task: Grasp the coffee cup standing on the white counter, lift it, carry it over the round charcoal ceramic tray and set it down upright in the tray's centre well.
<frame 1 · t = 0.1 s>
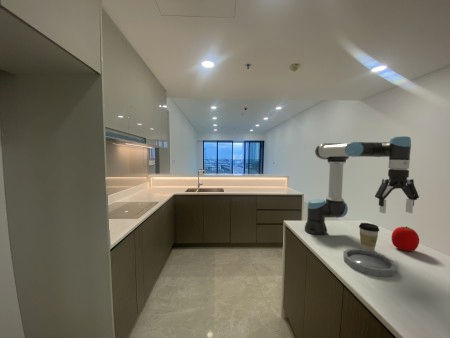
hand: (395, 212, 96), 28 cm above the worktop, fingers open, 13 cm apart
tray: (367, 264, 102), on the worktop
coffee cup: (367, 250, 117), on the worktop
tomato: (404, 249, 119), on the worktop
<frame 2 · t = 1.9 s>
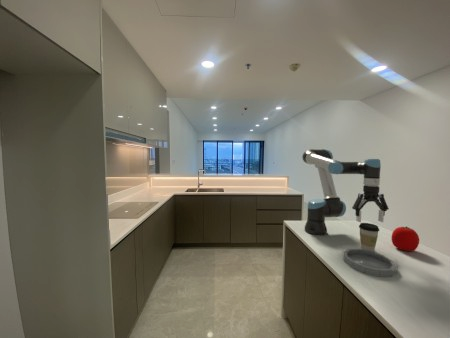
hand: (369, 221, 116), 17 cm above the worktop, fingers open, 13 cm apart
nothing on the worktop moved.
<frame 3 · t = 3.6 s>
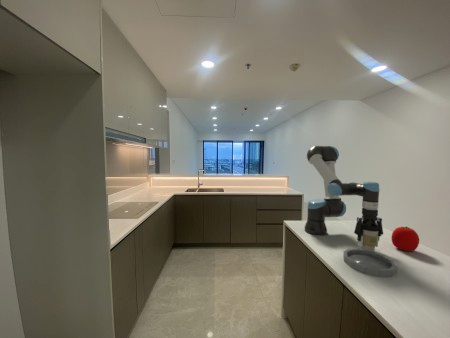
hand: (367, 246, 117), 2 cm above the worktop, fingers closed on coffee cup, 9 cm apart
coffee cup: (367, 250, 117), on the worktop, touching gripper
everything else where it was.
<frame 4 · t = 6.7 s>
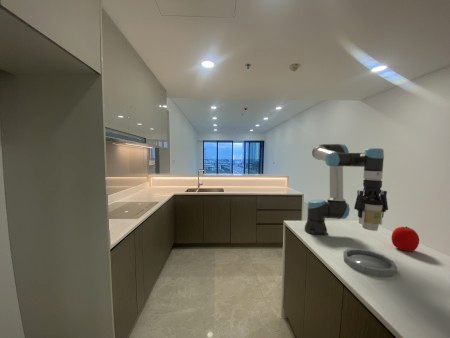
hand: (370, 223, 100), 21 cm above the worktop, fingers closed on coffee cup, 9 cm apart
coffee cup: (370, 228, 100), point 18 cm above the worktop, touching gripper
everything else where it was.
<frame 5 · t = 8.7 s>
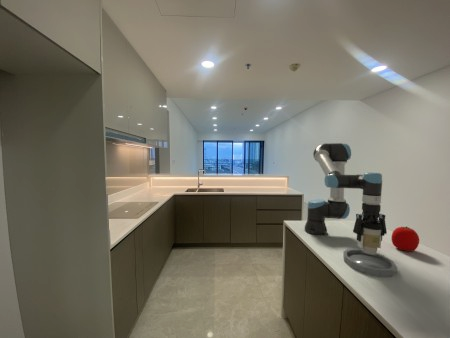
hand: (368, 247, 101), 9 cm above the worktop, fingers closed on coffee cup, 9 cm apart
coffee cup: (368, 252, 101), point 6 cm above the worktop, touching gripper
everything else where it was.
when the fingers open (5 cm above the worktop, at t = 10.1 s): coffee cup moves 3 cm, point 2 cm above the worktop.
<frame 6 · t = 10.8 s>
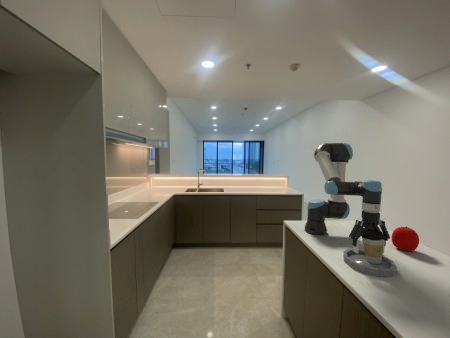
hand: (368, 252, 101), 6 cm above the worktop, fingers open, 13 cm apart
coffee cup: (374, 260, 102), point 2 cm above the worktop, touching gripper
everything else where it was.
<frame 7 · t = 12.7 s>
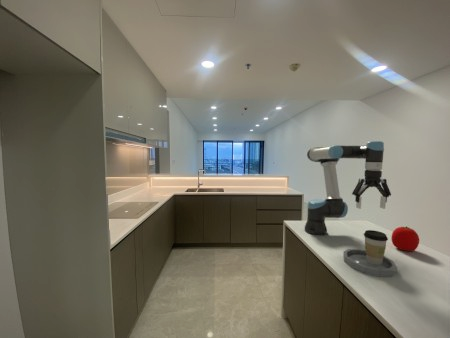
hand: (370, 208, 110), 27 cm above the worktop, fingers open, 13 cm apart
coffee cup: (374, 262, 102), point 1 cm above the worktop, touching tray
everything else where it was.
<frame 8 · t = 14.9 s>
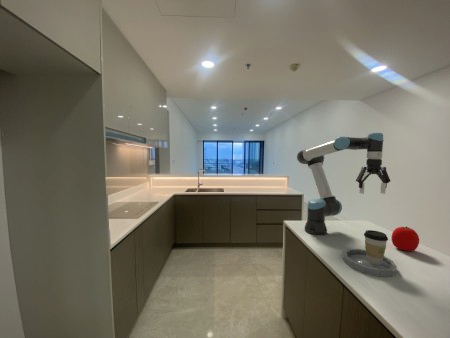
hand: (372, 193, 122), 33 cm above the worktop, fingers open, 13 cm apart
nothing on the worktop moved.
at the end: coffee cup inside the target area on the tray (3.1 cm from its centre), point 1.0 cm above the tray's base; coffee cup tilted 0°; coffee cup touching tray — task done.
